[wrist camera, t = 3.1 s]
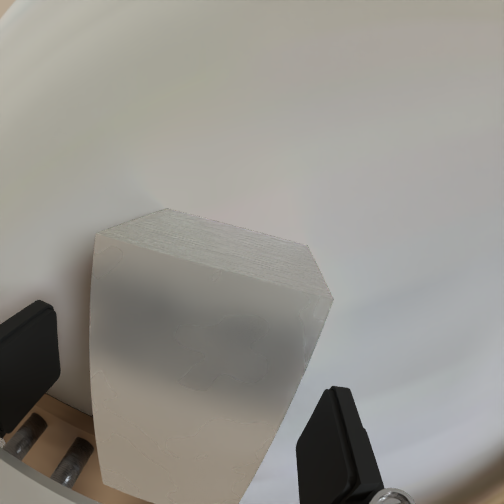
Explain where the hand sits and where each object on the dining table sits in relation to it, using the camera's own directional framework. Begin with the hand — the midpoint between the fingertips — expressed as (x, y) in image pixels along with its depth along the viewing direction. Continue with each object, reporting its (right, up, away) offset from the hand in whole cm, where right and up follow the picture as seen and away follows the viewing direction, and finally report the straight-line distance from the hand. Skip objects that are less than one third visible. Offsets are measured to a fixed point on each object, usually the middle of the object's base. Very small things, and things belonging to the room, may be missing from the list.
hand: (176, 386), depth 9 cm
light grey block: (+1, 0, +3) cm, 3 cm away
